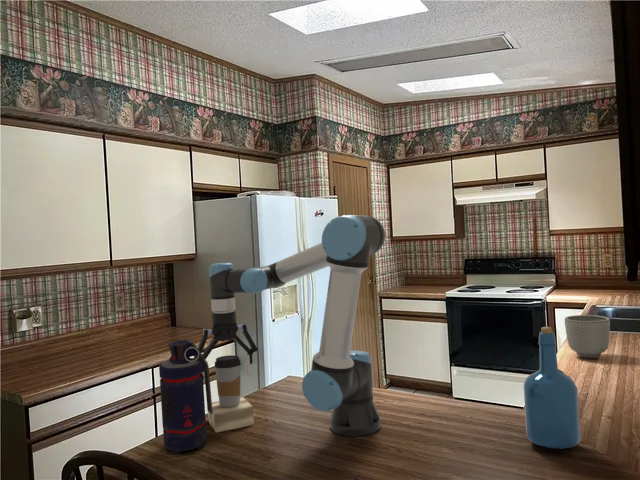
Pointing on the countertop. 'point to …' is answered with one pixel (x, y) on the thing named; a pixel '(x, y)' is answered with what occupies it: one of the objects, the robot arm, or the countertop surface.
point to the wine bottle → (551, 400)
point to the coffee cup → (228, 380)
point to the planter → (588, 334)
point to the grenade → (184, 397)
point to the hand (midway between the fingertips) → (227, 377)
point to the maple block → (231, 416)
